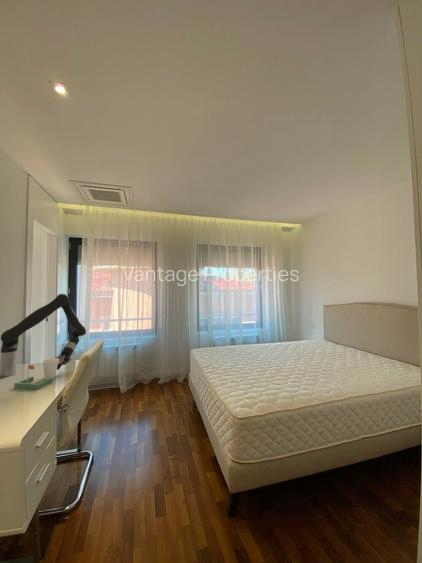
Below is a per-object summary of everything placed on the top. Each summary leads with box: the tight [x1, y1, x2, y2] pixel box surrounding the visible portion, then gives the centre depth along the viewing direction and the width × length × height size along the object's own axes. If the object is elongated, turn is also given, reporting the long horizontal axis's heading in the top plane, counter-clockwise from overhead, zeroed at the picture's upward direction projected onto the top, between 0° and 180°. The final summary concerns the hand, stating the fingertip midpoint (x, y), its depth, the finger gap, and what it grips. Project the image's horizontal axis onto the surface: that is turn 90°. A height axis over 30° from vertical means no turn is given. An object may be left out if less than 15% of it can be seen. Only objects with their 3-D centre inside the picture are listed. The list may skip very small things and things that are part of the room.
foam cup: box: [42, 357, 59, 380], centre depth 166 cm, size 10×9×13 cm
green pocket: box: [13, 364, 54, 391], centre depth 153 cm, size 16×13×15 cm
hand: (56, 369), depth 172 cm, fingers closed
